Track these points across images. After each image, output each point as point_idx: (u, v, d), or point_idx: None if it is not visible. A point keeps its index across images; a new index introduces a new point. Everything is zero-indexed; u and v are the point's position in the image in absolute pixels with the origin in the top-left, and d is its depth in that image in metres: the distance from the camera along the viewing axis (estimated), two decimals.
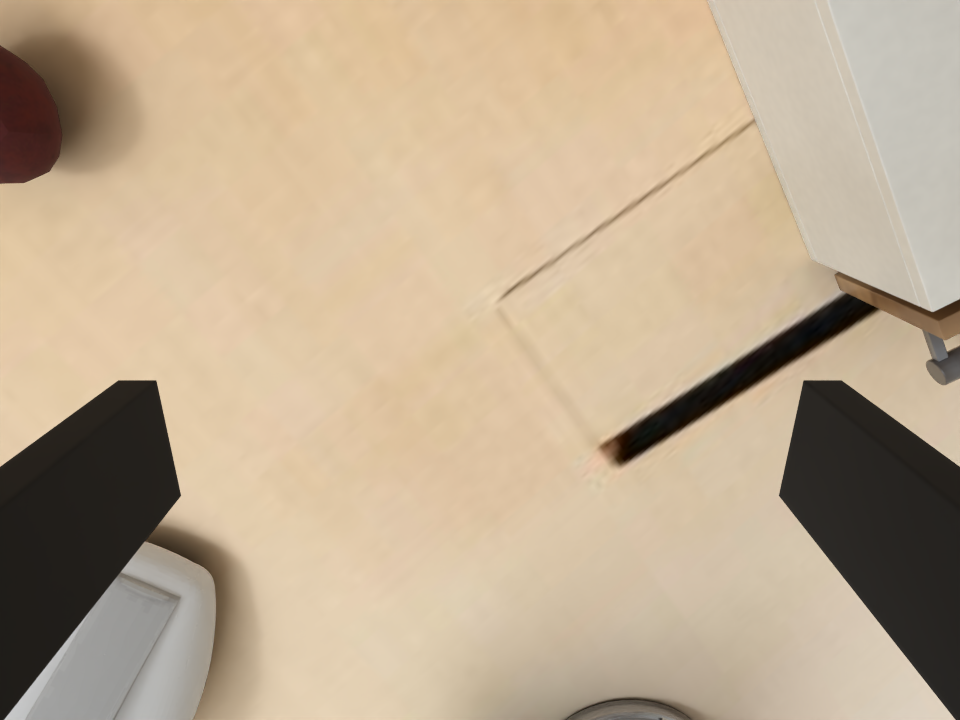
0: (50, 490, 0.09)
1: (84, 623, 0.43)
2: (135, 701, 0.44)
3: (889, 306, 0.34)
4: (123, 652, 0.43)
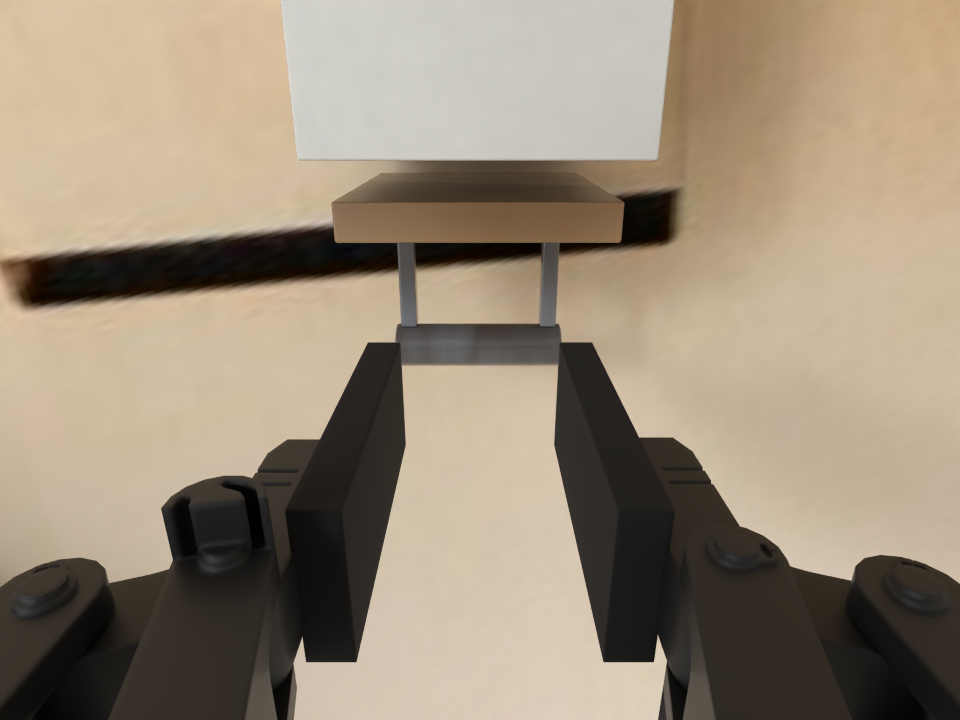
0: (378, 422, 0.11)
1: None
2: None
3: None
4: None
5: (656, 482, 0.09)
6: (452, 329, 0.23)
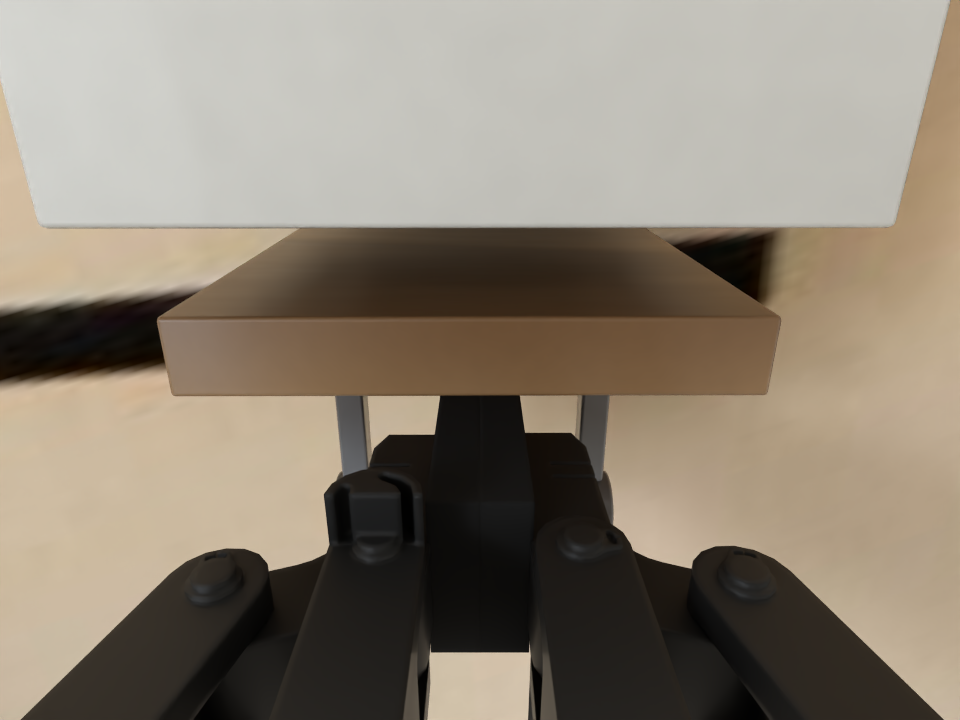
0: None
1: None
2: None
3: None
4: None
5: (526, 476, 0.09)
6: None
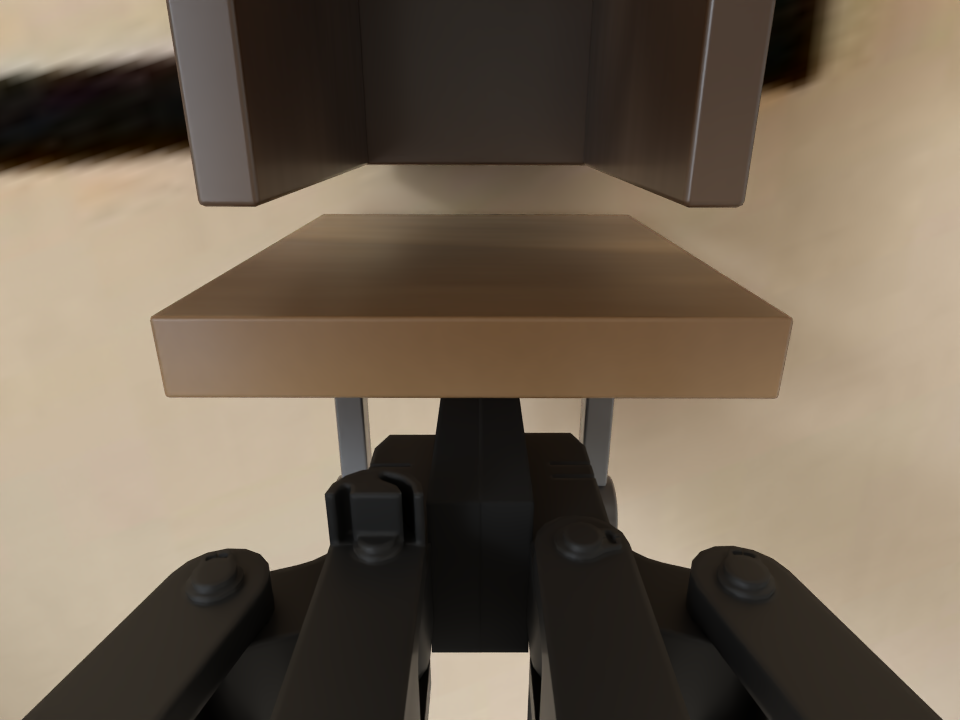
0: None
1: None
2: None
3: None
4: None
5: (525, 476, 0.09)
6: None
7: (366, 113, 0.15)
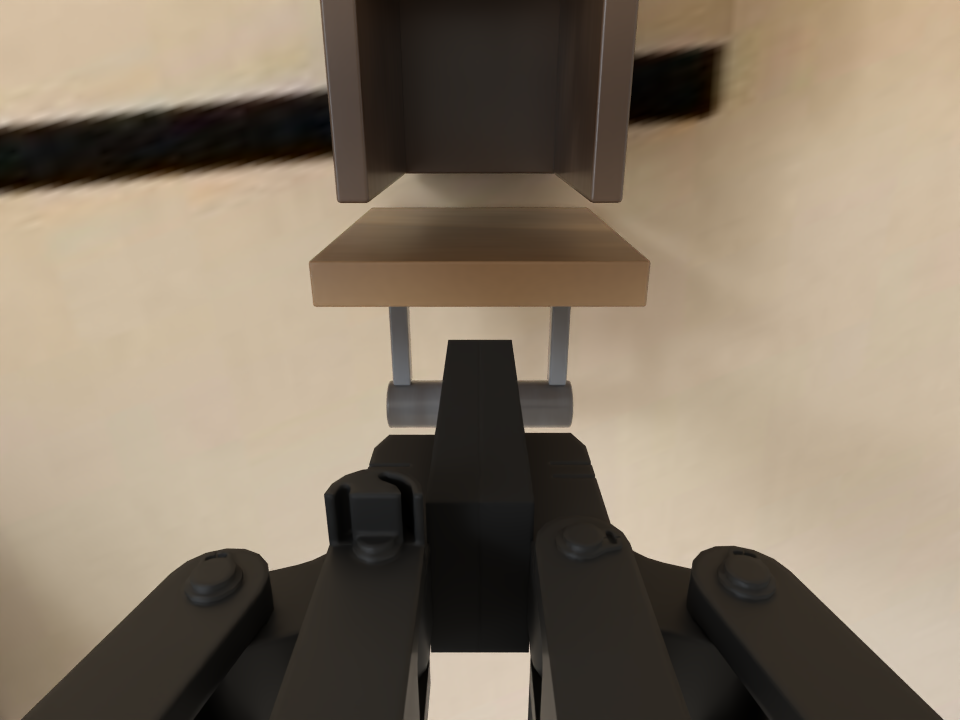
0: None
1: None
2: None
3: None
4: None
5: (525, 476, 0.09)
6: None
7: (405, 139, 0.22)
